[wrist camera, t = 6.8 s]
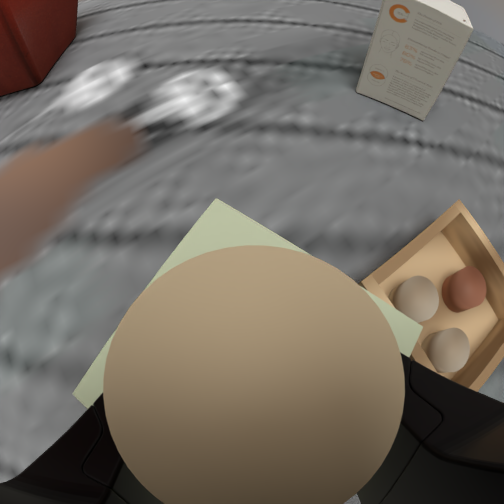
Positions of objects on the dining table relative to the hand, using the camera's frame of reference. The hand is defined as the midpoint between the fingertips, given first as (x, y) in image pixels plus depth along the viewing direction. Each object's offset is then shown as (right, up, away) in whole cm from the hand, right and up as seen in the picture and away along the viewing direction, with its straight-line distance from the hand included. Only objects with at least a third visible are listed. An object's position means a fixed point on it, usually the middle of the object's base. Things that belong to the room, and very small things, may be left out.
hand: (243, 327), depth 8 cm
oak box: (+14, -3, +13) cm, 19 cm away
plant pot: (-33, +30, +24) cm, 51 cm away
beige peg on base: (0, -3, +5) cm, 6 cm away
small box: (+16, +20, +21) cm, 33 cm away
